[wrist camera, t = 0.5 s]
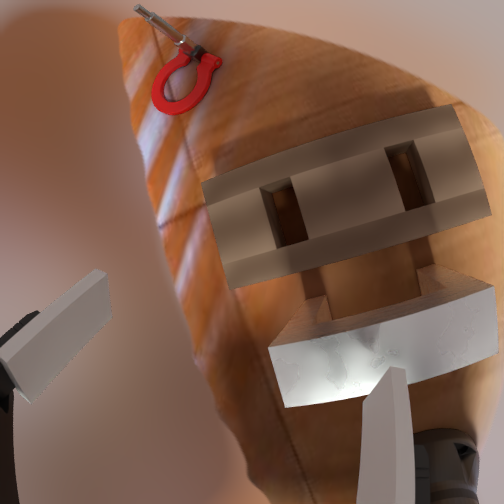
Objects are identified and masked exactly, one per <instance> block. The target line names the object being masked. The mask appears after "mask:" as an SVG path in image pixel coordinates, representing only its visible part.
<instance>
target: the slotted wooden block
mask: <svg viewBox="0 0 504 504" xmlns="http://www.w3.org/2000/svg"><path fill="white" fill-rule="evenodd" d="M405 152H406V154H407V156H408V159H409V162H410V164H411V167H412V170H413V173H414V176H415V179H416V182H417V185H418V188H419V191H420V194H421V197H422V200H423V203H424V206H422V207H419V208H416V209H412V210H409V211H405V208H404V205H403V202H402V199H401V195H400V192H399V189H398V186H397V183H396V180H395V177H394V174H393V172H392V169H391V166H390V163H389V161H388V158H387V157H391V156H394V155H398V154H402V153H405ZM201 185H202V189H203V193H204V197H205V201H206V205H207V209H208V213H209V216H210V220H211V224H212V228H213V232H214V235H215V239H216V243H217V247H218V250H219V254H220V258H221V261H222V265H223V268H224V272H225V276H226V279H227V283H228V286H229V290H231V289H235V288H239V287H243V286H247V285H251V284H255V283H259V282H263V281H267V280H271V279H275V278H279V277H282V276H286V275H290V274H294V273H298V272H301V271H305V270H309V269H313V268H316V267H320V266H324V265H327V264H331V263H335V262H338V261H342V260H345V259H349V258H353V257H356V256H360V255H363V254H367V253H370V252H374V251H377V250H381V249H384V248H387V247H391V246H394V245H398V244H401V243H404V242H408V241H411V240H414V239H418V238H421V237H424V236H428V235H431V234H434V233H437V232H440V231H444V230H447V229H450V228H453V227H456V226H460V225H463V224H466V223H469V222H472V221H475V220H478V219H481V218H484V217H487V216H490V215H492V214H491V210H490V206H489V202H488V199H487V195H486V192H485V189H484V185H483V182H482V179H481V176H480V173H479V170H478V167H477V164H476V161H475V159H474V156H473V153H472V151H471V148H470V145H469V143H468V140H467V138H466V135H465V133H464V131H463V128H462V126H461V124H460V122H459V119H458V117H457V115H456V113H455V111H454V109H453V107H452V105H451V104H449V105H445V106H440V107H435V108H431V109H426V110H422V111H417V112H413V113H409V114H405V115H401V116H397V117H393V118H389V119H385V120H382V121H378V122H374V123H371V124H367V125H363V126H360V127H356V128H353V129H350V130H346V131H343V132H340V133H336V134H333V135H330V136H327V137H324V138H321V139H317V140H314V141H311V142H308V143H305V144H302V145H299V146H296V147H293V148H291V149H288V150H285V151H282V152H279V153H276V154H274V155H271V156H268V157H265V158H263V159H260V160H257V161H255V162H252V163H249V164H247V165H244V166H242V167H239V168H236V169H234V170H231V171H229V172H226V173H224V174H221V175H219V176H216V177H214V178H212V179H209V180H207V181H204V182H202V183H201ZM292 186H293V187H294V191H295V194H296V197H297V200H298V204H299V207H300V210H301V214H302V217H303V220H304V224H305V227H306V230H307V234H308V237H309V240H306V241H303V242H299V243H296V244H292V245H289V246H287V245H286V241H285V238H284V234H283V231H282V227H281V224H280V220H279V217H278V214H277V210H276V207H275V203H274V200H273V197H272V193H274V192H277V191H280V190H283V189H286V188H289V187H292Z"/></svg>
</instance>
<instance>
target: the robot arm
mask: <svg viewBox="0 0 504 504" xmlns="http://www.w3.org/2000/svg"><path fill="white" fill-rule="evenodd" d="M111 318H112V310H111V302H110V293H109V284H108V274H107V273H105V272H103V271H101V270H98V269H94V270H93V271H92V272H90V273H89V274H88V275H87V276H85V277H84V278H83V279H81V280H80V281H79V282H78V283H76V284H75V285H74V286H73V287H71V288H70V289H69V290H67V291H66V292H65V293H64V294H62V295H61V296H60V297H59V298H57V299H56V300H55V301H54V302H53V303H51V304H50V305H49V306H48V307H46V308H45V309H44V310H43V311H42V312H39V311H34V312H32V313H30V314H27V315H26V316H25V317H24V318H22V319H21V320H20V321H19V323H17V324H15V325H14V326H13V328H11V329H10V330H8V331H7V332H6V333H5V334H4V335H3V336H2V337H1V338H0V504H20V503H19V497H18V490H17V483H16V475H15V463H14V447H13V401H14V393H13V389H14V388H15V387H16V389H17V391H18V392H19V394H20V395H21V396H22V397H23V398H24V399H25V400H27V401H28V402H29V403H30V404H32V403H33V402H34V401H35V400H36V399H37V398H38V397H39V395H40V394H41V393H42V392H43V391H44V390H45V389H46V388H47V386H48V385H49V384H50V383H51V382H52V381H53V380H54V379H55V377H56V376H57V375H58V374H59V373H60V372H61V371H62V370H63V369H64V368H65V367H66V365H67V364H68V363H69V362H70V361H71V360H72V359H73V358H74V357H75V356H76V355H77V354H78V353H79V351H80V350H81V349H82V348H83V347H84V346H85V345H86V344H87V343H88V342H89V341H90V340H91V339H92V338H93V337H94V336H95V335H96V334H97V333H98V332H99V330H101V329H102V328H103V326H104V325H105V324H106V323H107V322H108V321H109V320H110V319H111ZM478 474H479V454H478V451H477V448H476V446H475V444H474V441H473V440H472V438H471V437H470V436H469V435H467V434H466V433H464V432H462V431H459V430H455V429H434V430H428V431H424V432H420V433H417V434H414V435H413V429H412V418H411V409H410V400H409V392H408V385H407V378H406V371H405V369H403V368H399V367H394V366H390V367H389V368H388V370H387V371H386V372H385V374H384V375H383V376H382V378H381V379H380V381H379V382H378V383H377V385H376V386H375V387H374V388H373V390H372V391H371V392H370V394H369V395H368V396H367V397H366V399H365V400H364V401H363V414H362V441H361V458H360V471H359V482H358V491H357V500H356V504H479V502H478V498H477V494H476V492H477V484H478Z"/></svg>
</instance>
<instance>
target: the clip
mask: <svg viewBox="0 0 504 504" xmlns="http://www.w3.org/2000/svg"><path fill="white" fill-rule="evenodd" d="M416 271H417V276H418V281H419V286H420V291H421V296H420V297H417V298H414V299H410V300H407V301H404V302H400V303H397V304H393V305H390V306H386V307H382V308H379V309H375V310H371V311H368V312H364V313H360V314H356V315H352V316H348V317H344V318H340V319H336V320H332V317H331V313H330V309H329V305H328V301H327V297H326V295H323V296H319V297H315V298H311V299H306V300H305V301H304V303H303V304H302V305H301V307H300V308H299V309H298V310H297V312H296V313H295V314H294V316H293V317H292V318H291V319H290V321H289V322H288V323H287V324H286V326H285V327H284V328H283V330H282V331H281V332H280V333H279V335H278V336H277V337H276V338H275V339H274V341H273V342H272V343H271V344H270V346H269V347H268V350H269V353H270V357H271V360H272V364H273V367H274V371H275V374H276V378H277V381H278V384H279V388H280V391H281V395H282V398H283V402H284V405H285V408H287V407H296V406H304V405H311V404H318V403H325V402H331V401H337V400H343V399H348V398H353V397H358V396H363V395H368V394H370V392H371V391H372V390H373V388H374V387H375V386H376V385H377V383H378V382H379V381H380V379H381V378H382V376H383V375H384V374H385V372H386V371H387V370H388V368H389V367H390V366H394V367H399V368H403V369H405V371H406V378H407V385H409V384H412V383H416V382H419V381H423V380H426V379H429V378H433V377H436V376H439V375H442V374H445V373H448V372H451V371H454V370H457V369H459V368H462V367H465V366H468V365H470V364H473V363H475V362H478V361H480V360H483V359H485V358H488V357H490V356H493V355H495V354H497V353H498V322H497V309H496V298H495V289H494V286H493V285H491V284H488V283H485V282H483V281H480V280H478V279H475V278H472V277H470V276H467V275H464V274H462V273H459V272H456V271H454V270H451V269H448V268H445V267H443V266H440V265H437V264H433V265H429V266H426V267H423V268H420V269H416Z"/></svg>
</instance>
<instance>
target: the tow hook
mask: <svg viewBox="0 0 504 504" xmlns="http://www.w3.org/2000/svg"><path fill="white" fill-rule="evenodd" d="M134 11H136V12H137V13H139V14H140V15H142V16H143V17H144V18H145V21H146V22H148V23H149V24H151V25H152V26H153V27H155V28H156V29H158V30H159V31H160V32H162V33H163V34H164V35H166V36H167V37H168V38H170V39H171V40H172V41H174V44H175V45H176V46H177V47H179V54H178V55H177V57H176V58H174V59H172V60H171V61H170V62H168V63H167V64H166V65H165V66H164V67H163V68H162V69H161V70H160V72H159V73H158V75H157V76H156V78H155V81H154V83H153V86H152V92H151V94H152V101H153V104H154V106H155V107H156V108H157V109H158V110H159V111H161V112H163V113H165V114H168V115H177V114H182V113H184V112H186V111H189V110H190V109H191V108H193V107H194V106H196V105H197V104H198V103H199V102H200V100H201V99H202V98H203V97H204V95H205V94H206V92H207V91H208V88H209V85H210V83H211V76H212V72H213V71H214V69H215V68H219V67H220V66H221V64H222V59H221V58H219V57H217V56H214V55H212V54H209V53H208V52H207V51H206V50H205V49H204V48H203V47H201V46H199V45H197V44H195V43H194V42H193V41H192V40H191V39H189V38H188V37H187V36H185V35H182V34H180V33H179V32H178V31H177V30H176V29H174V28H173V27H172V26H171V25H169V24H168V23H167V22H166V21H164V20H163V19H162V18H160V17H159V16H158V15H156V14H155V13H154V12H151V13H150V12H149V11H148V10H146V9H145V8H144V7H142V6H141V5H139V4H138V5H136V6H135V7H134ZM191 59H192V60H195V61H197V62H200V64H199V65H198V67H197V69H196V70H197V73H198V79H197V83H196V85H195V87H194V89H193V90H192V92H191V93H190V94H189V95H188V96H187V97H185V98H184V99H182V100H180V101H178V102H168V101H167V100H166V99H165V97H164V92H163V90H164V85H165V82H166V80H167V79H168V77H169V76H170V75H171V74H172V73H173V72H174V71H175V70H176V69H178V68H180V67H182V66H186V65H187V64H188V63H189V61H190V60H191Z"/></svg>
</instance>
